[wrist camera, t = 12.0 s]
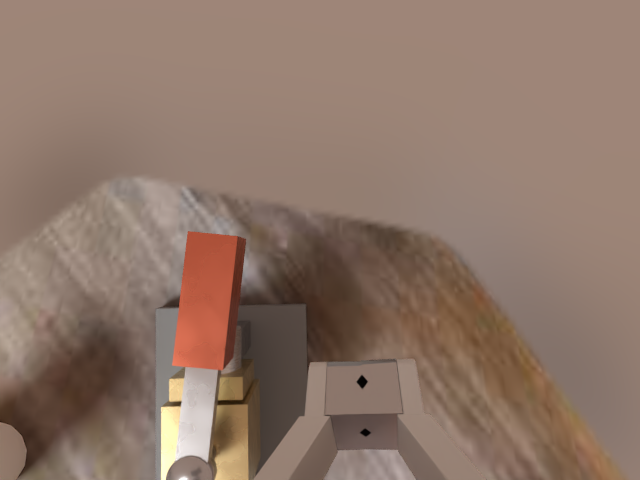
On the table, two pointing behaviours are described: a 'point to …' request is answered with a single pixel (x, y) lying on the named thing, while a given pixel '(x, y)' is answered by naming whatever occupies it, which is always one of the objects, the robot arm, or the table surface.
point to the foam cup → (11, 452)
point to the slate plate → (269, 366)
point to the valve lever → (205, 345)
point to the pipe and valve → (223, 416)
